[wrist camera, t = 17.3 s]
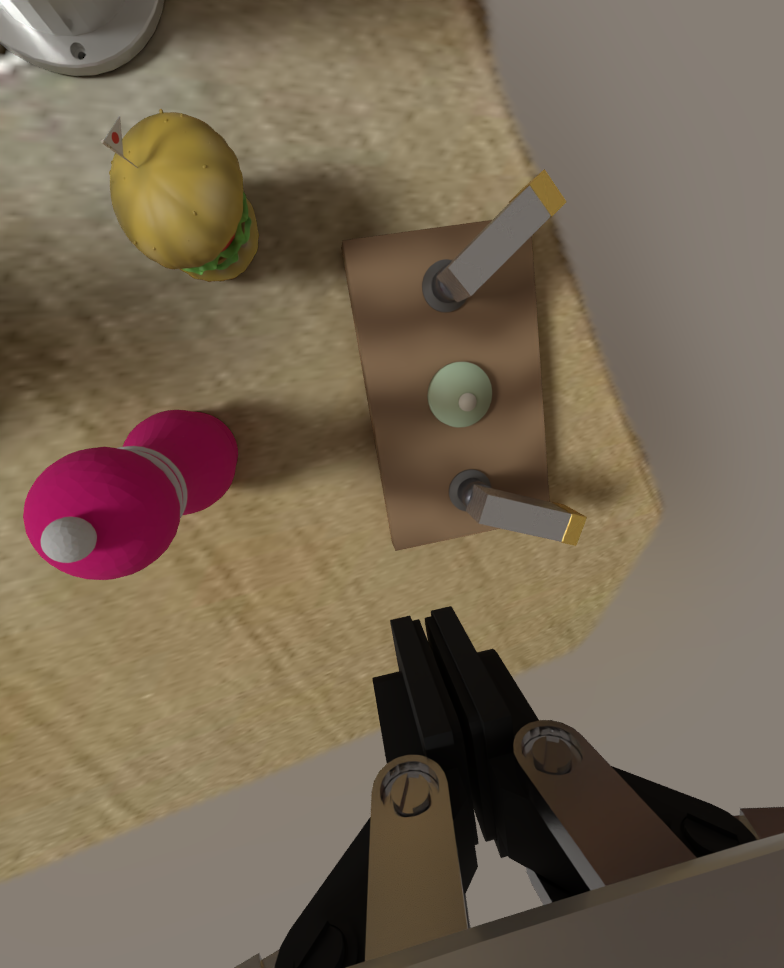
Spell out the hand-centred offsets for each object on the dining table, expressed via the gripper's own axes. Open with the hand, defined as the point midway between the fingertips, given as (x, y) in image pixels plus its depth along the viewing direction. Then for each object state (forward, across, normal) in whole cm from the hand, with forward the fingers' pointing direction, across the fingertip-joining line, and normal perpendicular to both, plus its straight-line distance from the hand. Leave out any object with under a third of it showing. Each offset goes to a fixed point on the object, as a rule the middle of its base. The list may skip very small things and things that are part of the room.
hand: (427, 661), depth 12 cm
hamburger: (+27, +7, -18) cm, 33 cm away
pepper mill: (+27, +12, -3) cm, 30 cm away
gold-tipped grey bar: (+25, -11, -14) cm, 30 cm away
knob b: (+25, -12, +5) cm, 28 cm away
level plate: (+27, -9, -4) cm, 29 cm away
